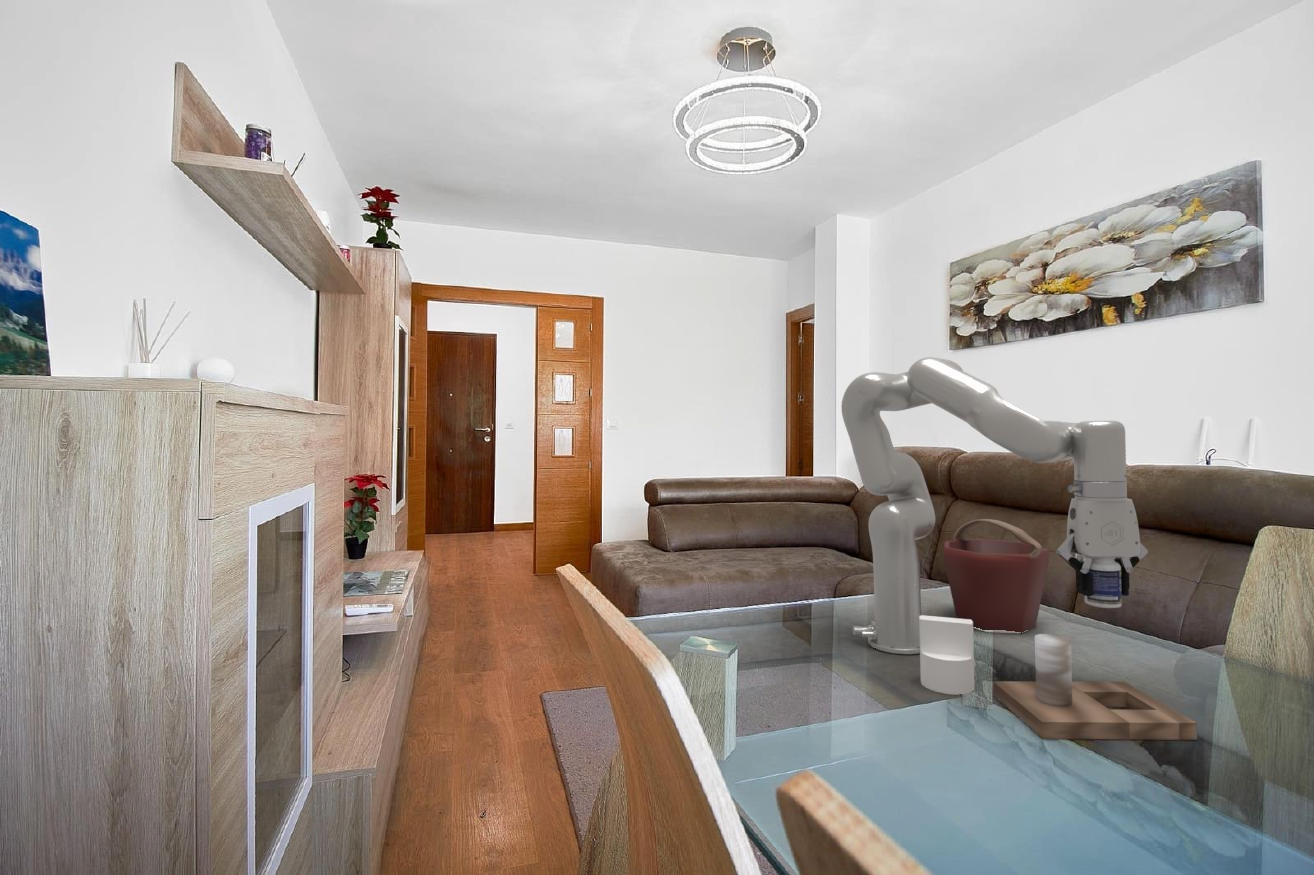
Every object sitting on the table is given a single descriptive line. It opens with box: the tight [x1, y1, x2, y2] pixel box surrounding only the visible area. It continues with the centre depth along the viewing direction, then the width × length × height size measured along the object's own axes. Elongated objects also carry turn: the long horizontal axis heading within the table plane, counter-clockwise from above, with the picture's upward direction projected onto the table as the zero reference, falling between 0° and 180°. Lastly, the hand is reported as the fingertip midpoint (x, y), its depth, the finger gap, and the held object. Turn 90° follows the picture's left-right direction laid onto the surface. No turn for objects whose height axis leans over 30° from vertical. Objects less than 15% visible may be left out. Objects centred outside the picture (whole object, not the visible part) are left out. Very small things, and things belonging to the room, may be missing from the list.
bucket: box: [943, 518, 1050, 633], centre depth 153 cm, size 24×22×25 cm
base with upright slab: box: [919, 614, 975, 696], centre depth 117 cm, size 9×9×12 cm
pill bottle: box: [1083, 558, 1123, 609], centre depth 112 cm, size 5×5×10 cm
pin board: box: [992, 633, 1198, 741], centre depth 103 cm, size 22×16×12 cm
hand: (1102, 593), depth 112 cm, fingers closed on pill bottle, 5 cm apart
